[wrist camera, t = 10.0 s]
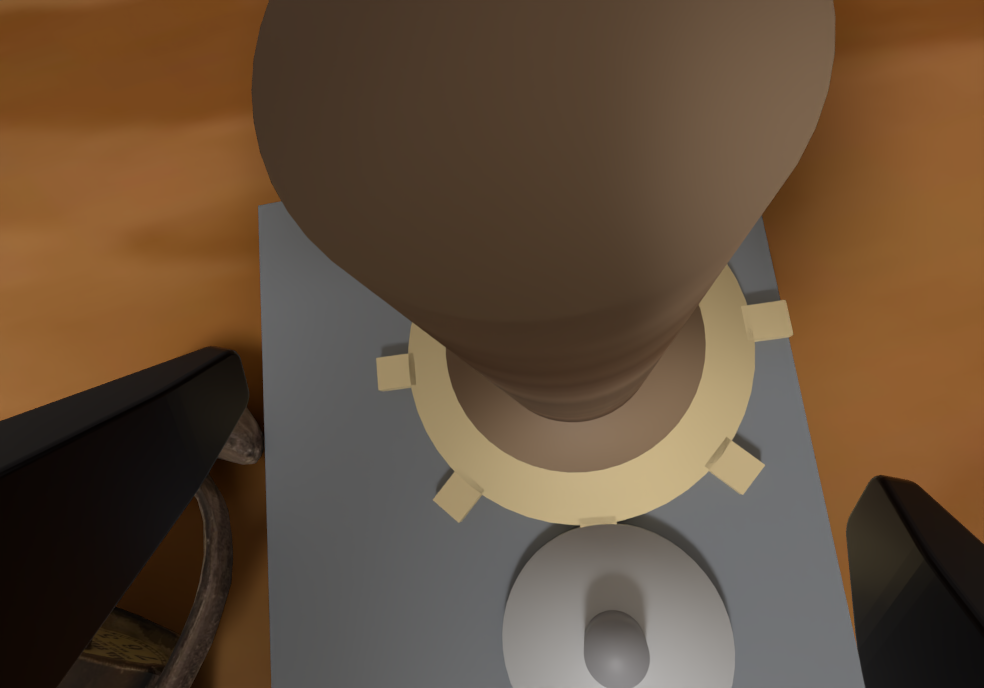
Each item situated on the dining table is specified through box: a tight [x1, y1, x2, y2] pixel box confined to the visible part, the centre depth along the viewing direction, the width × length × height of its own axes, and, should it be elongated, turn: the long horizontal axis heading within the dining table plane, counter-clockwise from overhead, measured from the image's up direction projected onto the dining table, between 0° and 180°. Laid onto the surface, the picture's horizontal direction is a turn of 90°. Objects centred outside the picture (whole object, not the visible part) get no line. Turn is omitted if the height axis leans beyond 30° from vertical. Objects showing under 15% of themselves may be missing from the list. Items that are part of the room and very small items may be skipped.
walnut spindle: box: [252, 0, 835, 473], centre depth 11 cm, size 7×7×13 cm
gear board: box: [258, 201, 865, 688], centre depth 17 cm, size 19×16×3 cm
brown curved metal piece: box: [57, 407, 264, 688], centre depth 16 cm, size 7×13×10 cm
